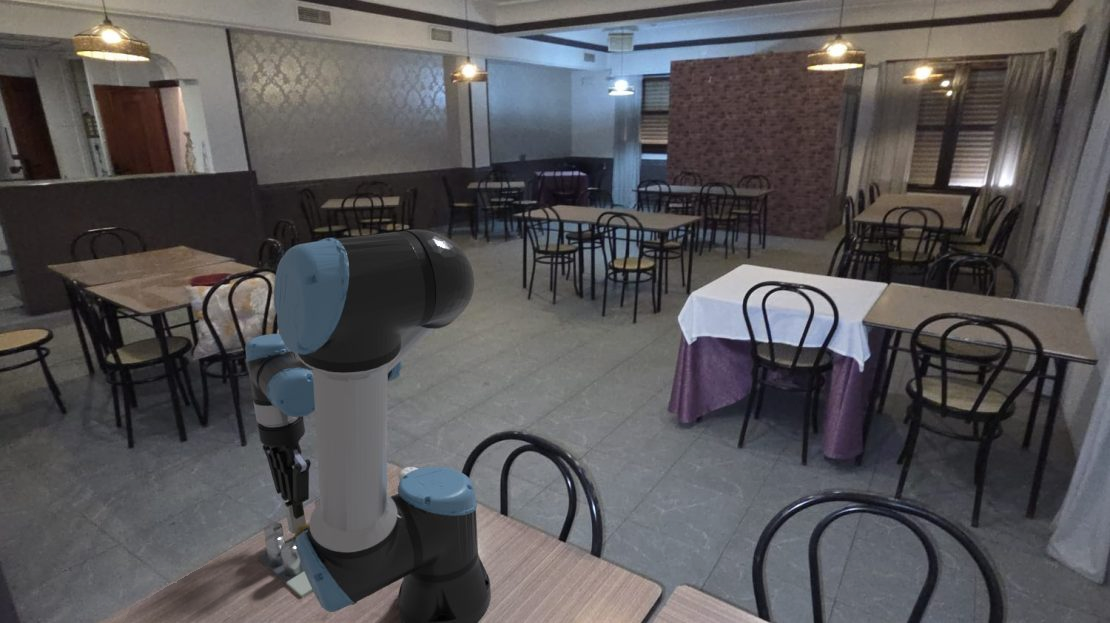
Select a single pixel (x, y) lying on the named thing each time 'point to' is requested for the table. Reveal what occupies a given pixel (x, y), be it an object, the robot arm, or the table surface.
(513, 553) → the table surface
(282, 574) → the mat
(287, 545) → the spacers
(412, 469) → the milkshake
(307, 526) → the nut
